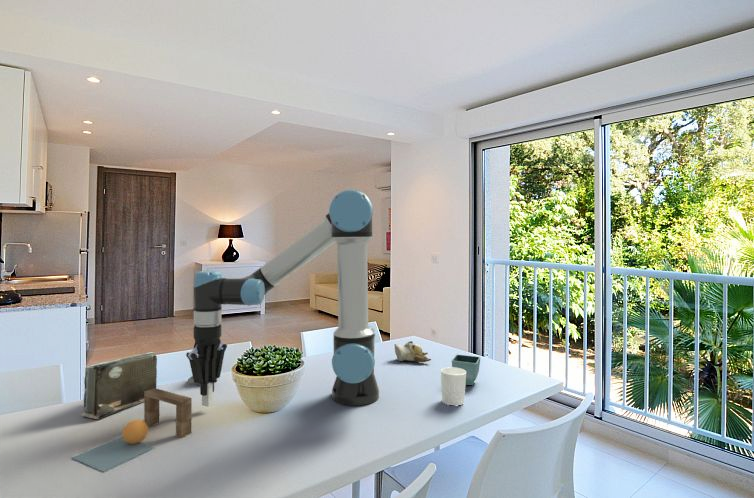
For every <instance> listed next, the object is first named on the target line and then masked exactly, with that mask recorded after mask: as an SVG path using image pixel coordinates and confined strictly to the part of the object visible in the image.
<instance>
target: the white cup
mask: <svg viewBox="0 0 754 498" xmlns="http://www.w3.org/2000/svg"><path fill="white" fill-rule="evenodd" d="M440 385H441V387H440V388H441V402H442V403H443V404H444V403H445V404H444V405H446V404H447V405H446V406H449V405H461V406H462V404H463V403H465V392H466V371H465V370H464V369H461V368H456V367H452V366H450V367H449V366H448V367H443V368H441V370H440ZM463 405H464V404H463Z"/></svg>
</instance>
